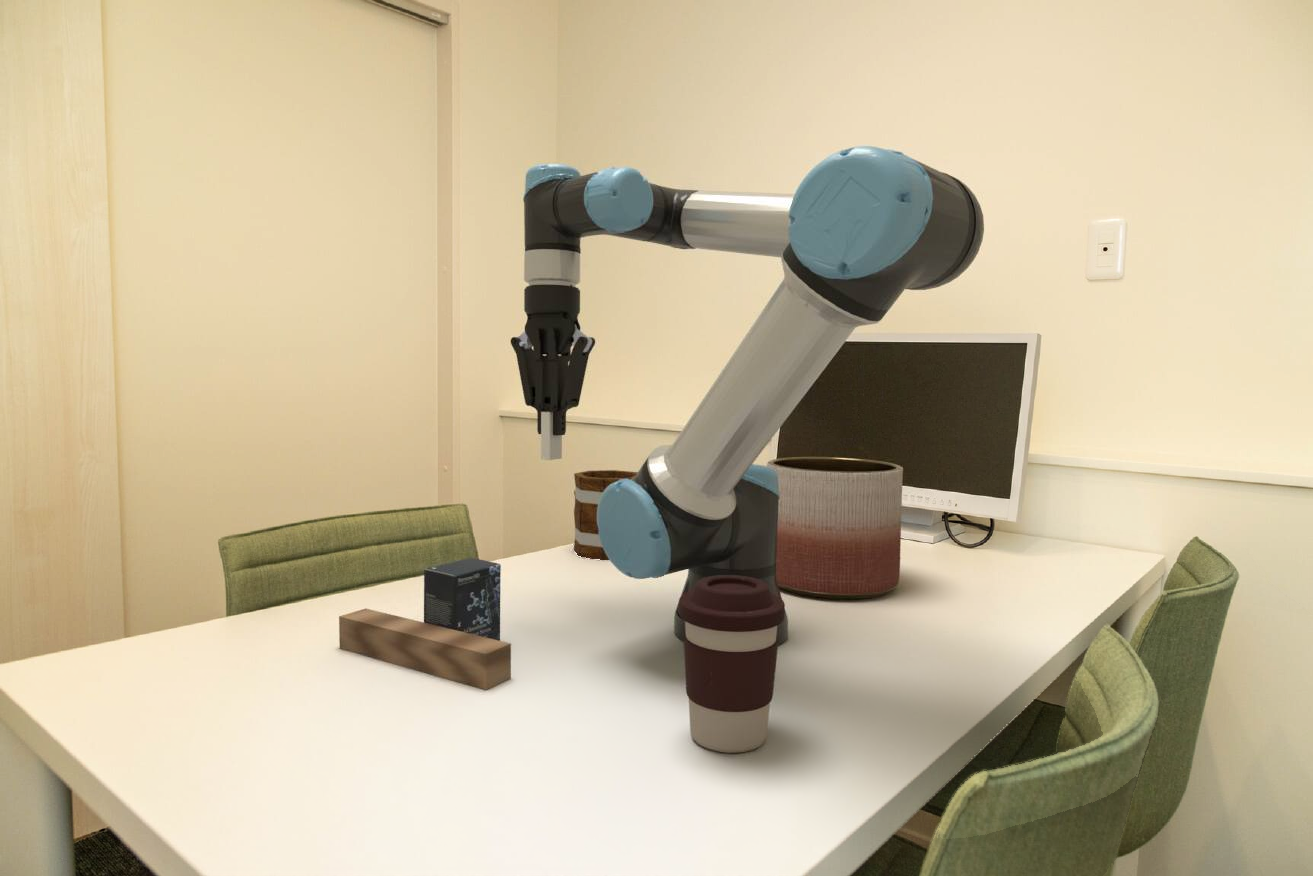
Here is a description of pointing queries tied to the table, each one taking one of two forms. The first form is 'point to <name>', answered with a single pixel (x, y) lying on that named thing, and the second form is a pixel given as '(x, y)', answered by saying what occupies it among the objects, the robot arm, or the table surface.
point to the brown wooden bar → (426, 648)
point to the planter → (838, 526)
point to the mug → (592, 509)
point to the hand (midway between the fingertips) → (551, 458)
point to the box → (464, 597)
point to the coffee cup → (730, 660)
